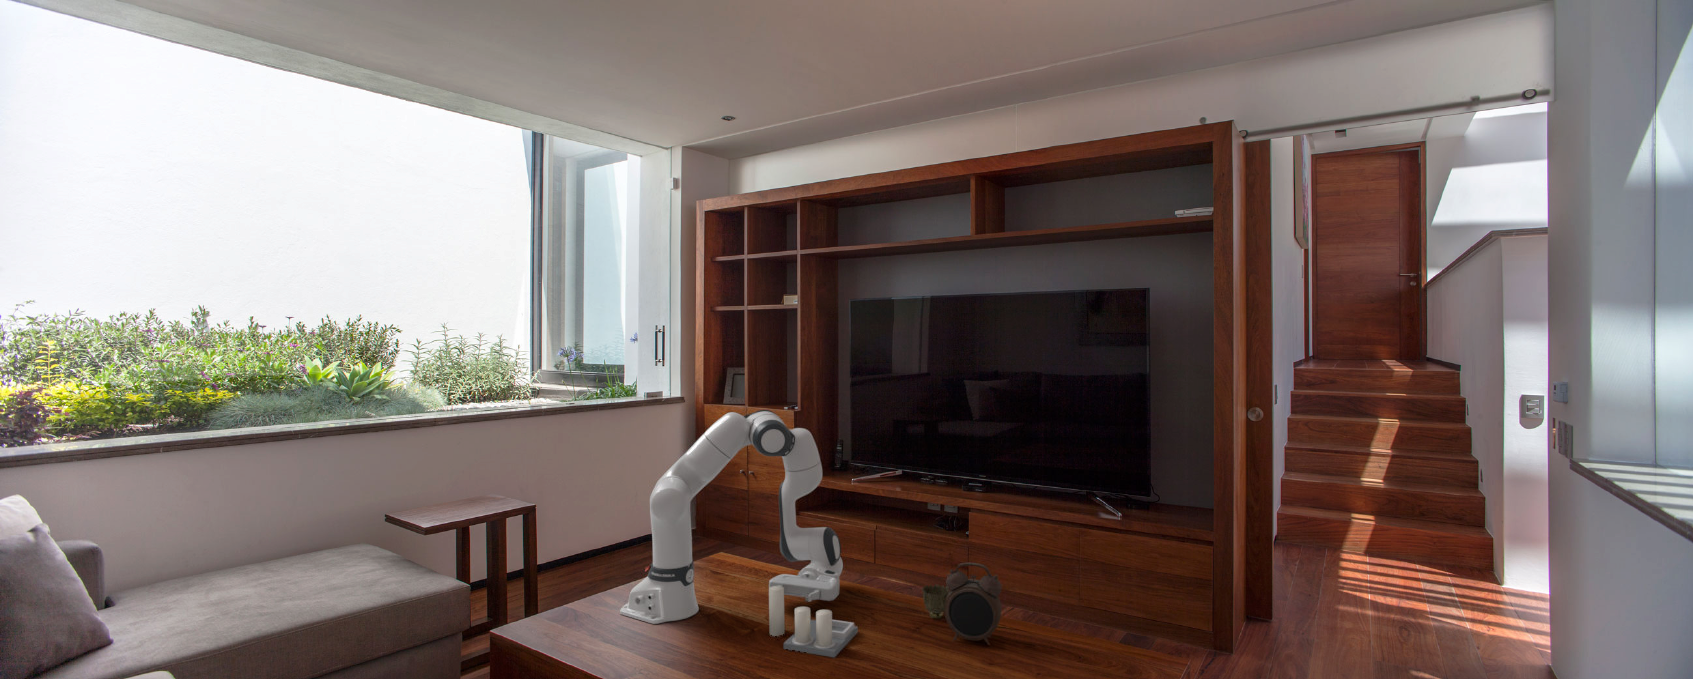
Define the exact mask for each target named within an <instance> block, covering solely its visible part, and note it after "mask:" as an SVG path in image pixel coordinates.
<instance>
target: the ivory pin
mask: <svg viewBox="0 0 1693 679" xmlns="http://www.w3.org/2000/svg"><path fill="white" fill-rule="evenodd" d="M768 617H769V618H768V619H769V620H768V622H769V625H768V626H769V628H768V629H769V635H770V636H771V635H772V636H771V637H775V636H777V637H780V636H779V635H782V636H783V634H784V635H785V595H784V587H782V586H773V587H770V588H769V587H768Z"/></svg>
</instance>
